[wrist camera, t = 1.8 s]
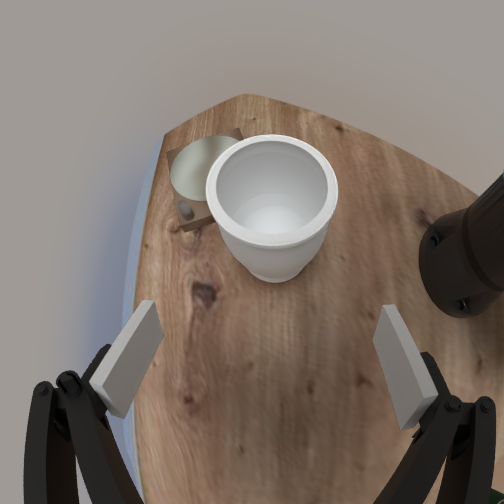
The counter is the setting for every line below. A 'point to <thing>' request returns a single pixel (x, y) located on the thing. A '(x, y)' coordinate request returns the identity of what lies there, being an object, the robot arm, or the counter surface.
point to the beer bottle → (496, 497)
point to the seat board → (196, 176)
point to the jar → (272, 203)
